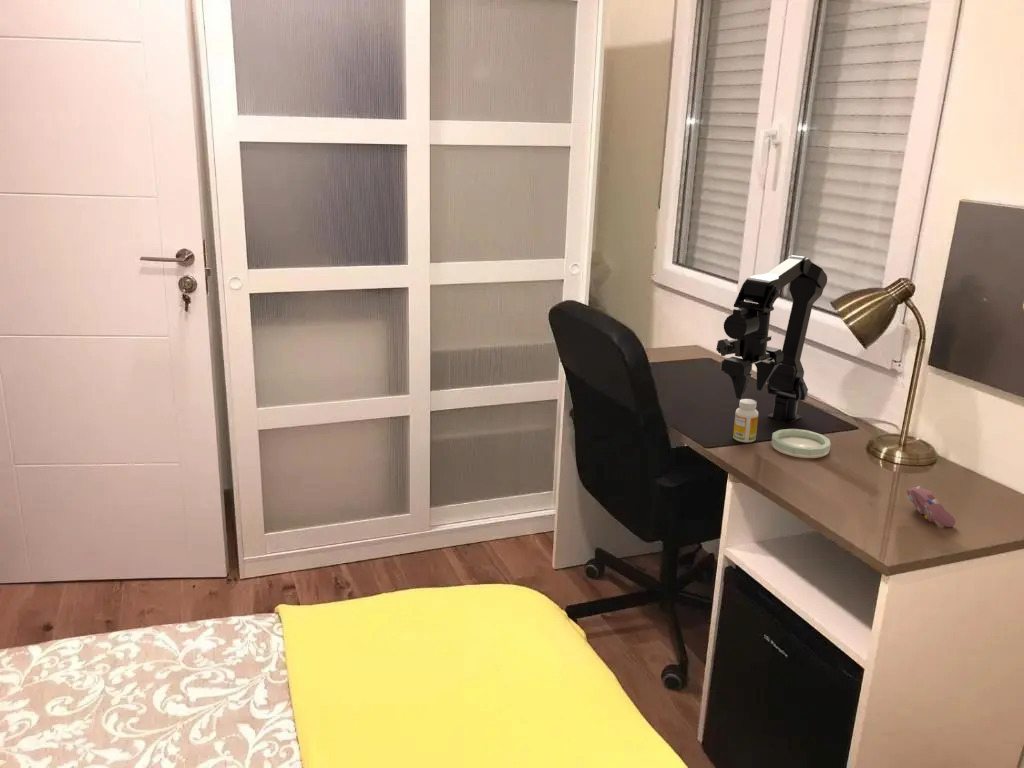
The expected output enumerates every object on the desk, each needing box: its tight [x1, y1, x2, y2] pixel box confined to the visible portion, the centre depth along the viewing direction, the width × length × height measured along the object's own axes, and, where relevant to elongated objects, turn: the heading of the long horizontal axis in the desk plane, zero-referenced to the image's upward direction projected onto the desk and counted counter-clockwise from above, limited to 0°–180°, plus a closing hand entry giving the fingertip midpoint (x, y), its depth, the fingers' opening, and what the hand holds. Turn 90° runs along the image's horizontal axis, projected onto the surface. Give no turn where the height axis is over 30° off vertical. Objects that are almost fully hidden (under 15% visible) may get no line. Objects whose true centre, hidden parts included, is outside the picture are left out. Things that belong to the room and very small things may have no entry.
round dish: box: [771, 428, 831, 459], centre depth 196 cm, size 13×13×2 cm
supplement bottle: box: [732, 398, 759, 443], centre depth 200 cm, size 5×5×10 cm
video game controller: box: [906, 485, 956, 528], centre depth 162 cm, size 10×5×7 cm, turn 4°
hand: (749, 394), depth 198 cm, fingers open, 9 cm apart
